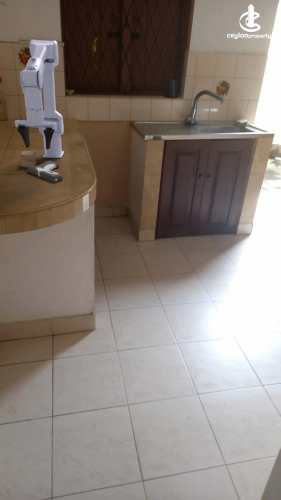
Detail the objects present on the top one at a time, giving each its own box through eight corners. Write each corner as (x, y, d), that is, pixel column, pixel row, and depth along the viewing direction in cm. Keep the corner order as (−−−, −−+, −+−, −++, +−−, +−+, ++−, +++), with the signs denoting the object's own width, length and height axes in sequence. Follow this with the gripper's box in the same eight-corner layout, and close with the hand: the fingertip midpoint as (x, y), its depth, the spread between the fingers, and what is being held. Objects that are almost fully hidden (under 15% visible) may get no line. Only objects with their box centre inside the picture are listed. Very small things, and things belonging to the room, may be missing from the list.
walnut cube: (24, 163, 145) (22, 151, 142) (36, 163, 145) (35, 151, 142) (21, 167, 140) (20, 154, 138) (34, 167, 141) (33, 154, 138)
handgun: (49, 159, 143) (24, 165, 135) (79, 170, 134) (54, 177, 126) (50, 165, 145) (25, 171, 137) (79, 176, 135) (54, 183, 127)
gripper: (9, 108, 119) (14, 149, 126) (50, 111, 118) (53, 152, 125) (17, 105, 125) (22, 144, 132) (57, 108, 124) (60, 147, 131)
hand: (38, 148), depth 129 cm, fingers open, 7 cm apart
